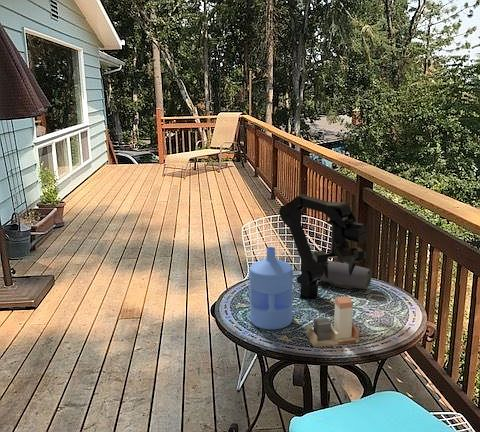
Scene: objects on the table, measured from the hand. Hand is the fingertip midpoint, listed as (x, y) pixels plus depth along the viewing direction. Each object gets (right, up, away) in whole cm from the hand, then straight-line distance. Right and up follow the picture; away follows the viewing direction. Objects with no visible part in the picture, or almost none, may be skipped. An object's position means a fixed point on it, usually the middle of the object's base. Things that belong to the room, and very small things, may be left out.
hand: (338, 276), depth 185 cm
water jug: (-26, -16, -5) cm, 30 cm away
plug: (-2, -18, -18) cm, 25 cm away
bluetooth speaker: (+6, -7, +23) cm, 25 cm away
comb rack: (-6, -19, -18) cm, 27 cm away
